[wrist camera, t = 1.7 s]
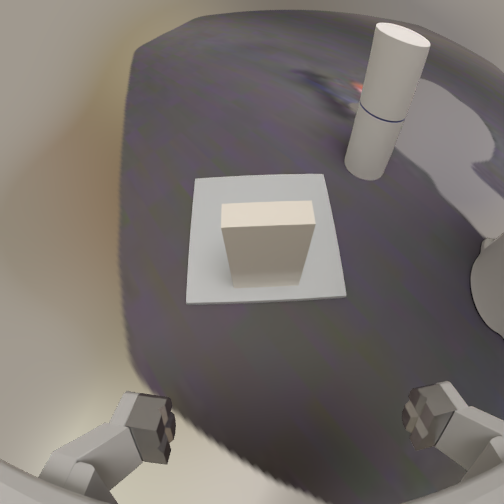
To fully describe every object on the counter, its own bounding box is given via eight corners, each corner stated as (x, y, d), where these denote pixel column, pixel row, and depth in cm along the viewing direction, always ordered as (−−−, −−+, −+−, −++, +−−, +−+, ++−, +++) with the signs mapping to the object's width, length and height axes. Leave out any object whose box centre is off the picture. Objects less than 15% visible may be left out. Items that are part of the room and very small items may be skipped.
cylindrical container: (335, 159, 49) (364, 24, 27) (362, 145, 51) (395, 21, 29) (366, 186, 47) (413, 49, 24) (391, 170, 48) (439, 45, 26)
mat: (322, 177, 48) (323, 174, 47) (344, 297, 38) (346, 295, 38) (196, 182, 48) (195, 178, 47) (187, 304, 38) (186, 302, 38)
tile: (296, 265, 40) (311, 197, 27) (298, 285, 38) (315, 224, 26) (233, 267, 40) (221, 201, 27) (234, 288, 38) (220, 227, 26)
